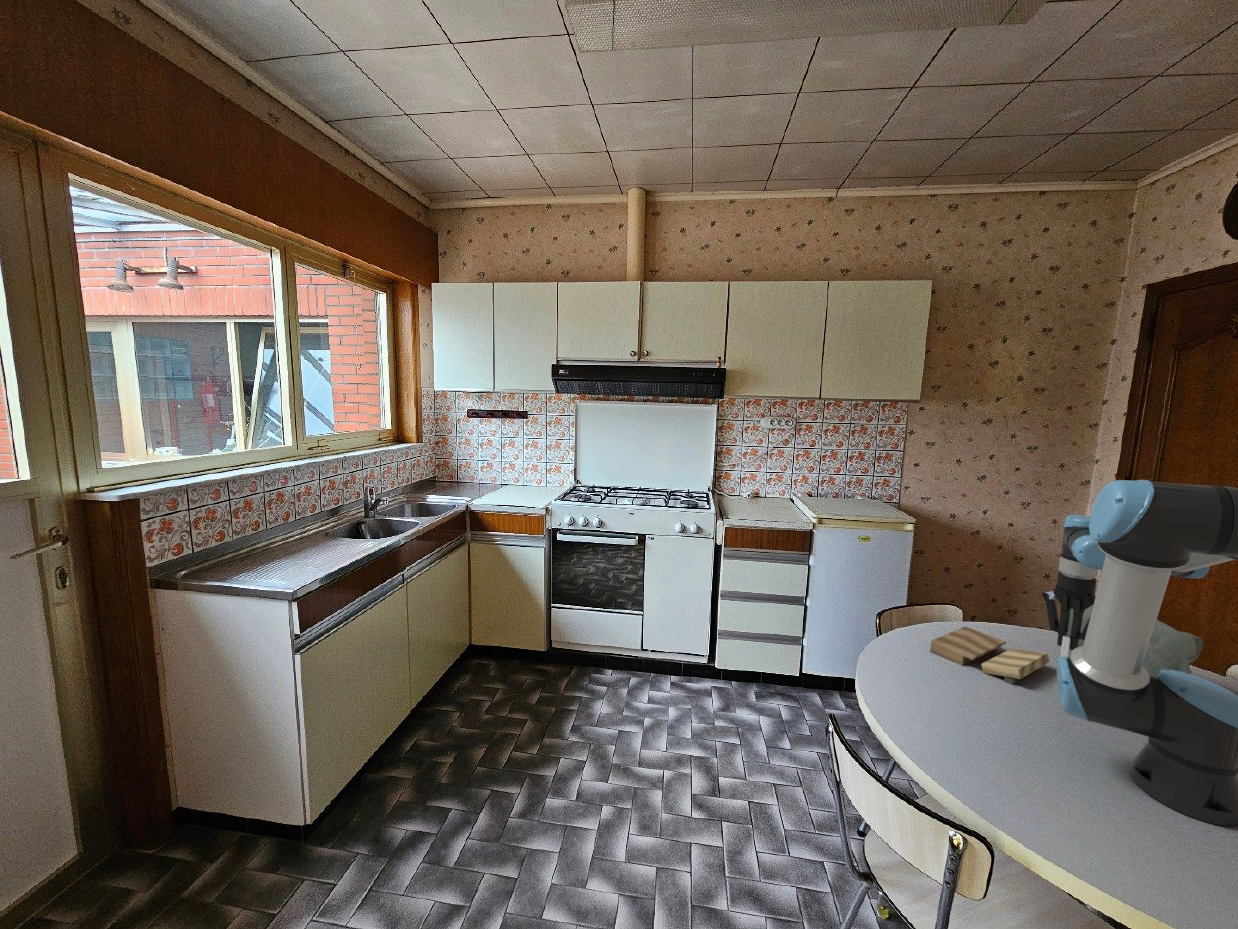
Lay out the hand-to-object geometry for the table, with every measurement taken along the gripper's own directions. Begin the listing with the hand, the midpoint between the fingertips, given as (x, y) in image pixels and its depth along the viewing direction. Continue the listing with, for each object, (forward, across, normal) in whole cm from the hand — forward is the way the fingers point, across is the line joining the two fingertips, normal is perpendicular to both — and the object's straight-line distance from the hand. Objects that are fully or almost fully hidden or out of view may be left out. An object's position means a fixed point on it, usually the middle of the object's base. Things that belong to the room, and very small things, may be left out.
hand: (1065, 659), depth 133 cm
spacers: (+9, +8, 0) cm, 12 cm away
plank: (+9, +10, 0) cm, 14 cm away
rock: (+9, -6, -26) cm, 28 cm away
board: (+9, +23, +1) cm, 24 cm away
